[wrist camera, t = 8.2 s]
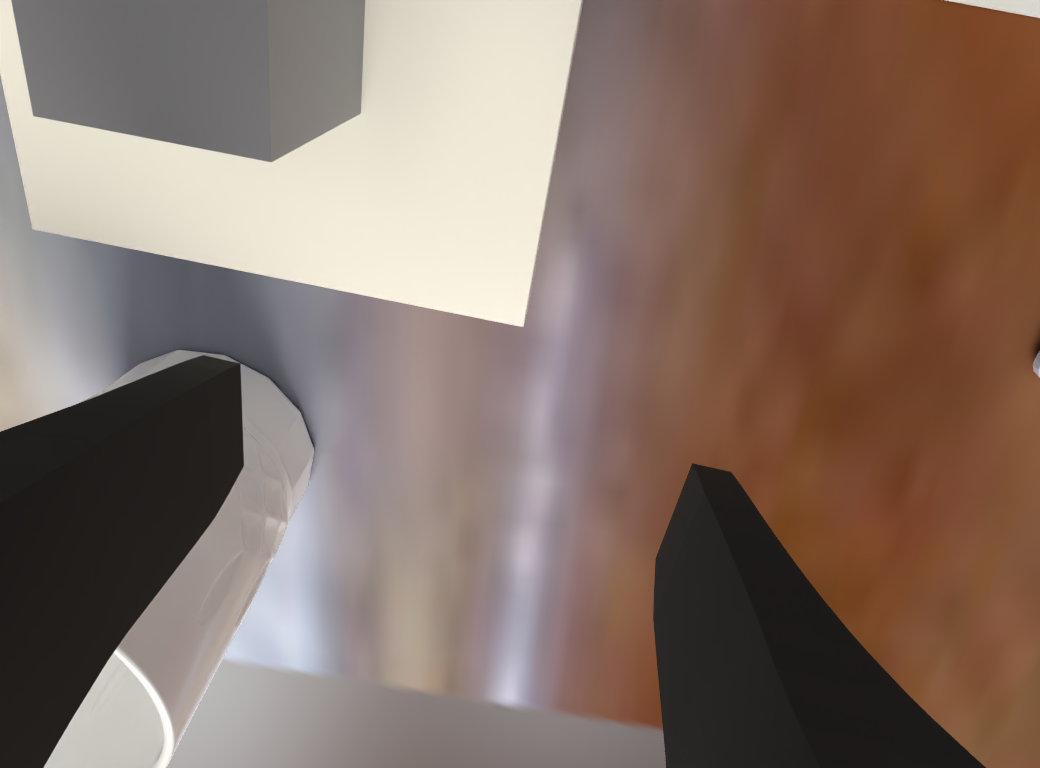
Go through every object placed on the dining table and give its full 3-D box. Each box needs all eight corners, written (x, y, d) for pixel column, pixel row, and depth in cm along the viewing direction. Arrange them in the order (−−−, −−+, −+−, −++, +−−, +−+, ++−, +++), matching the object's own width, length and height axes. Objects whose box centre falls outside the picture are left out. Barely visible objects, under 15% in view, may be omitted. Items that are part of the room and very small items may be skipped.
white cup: (103, 297, 22) (-232, 510, 13) (350, 376, 22) (179, 632, 14) (108, 486, 26) (-147, 742, 17) (316, 550, 26) (167, 833, 18)
